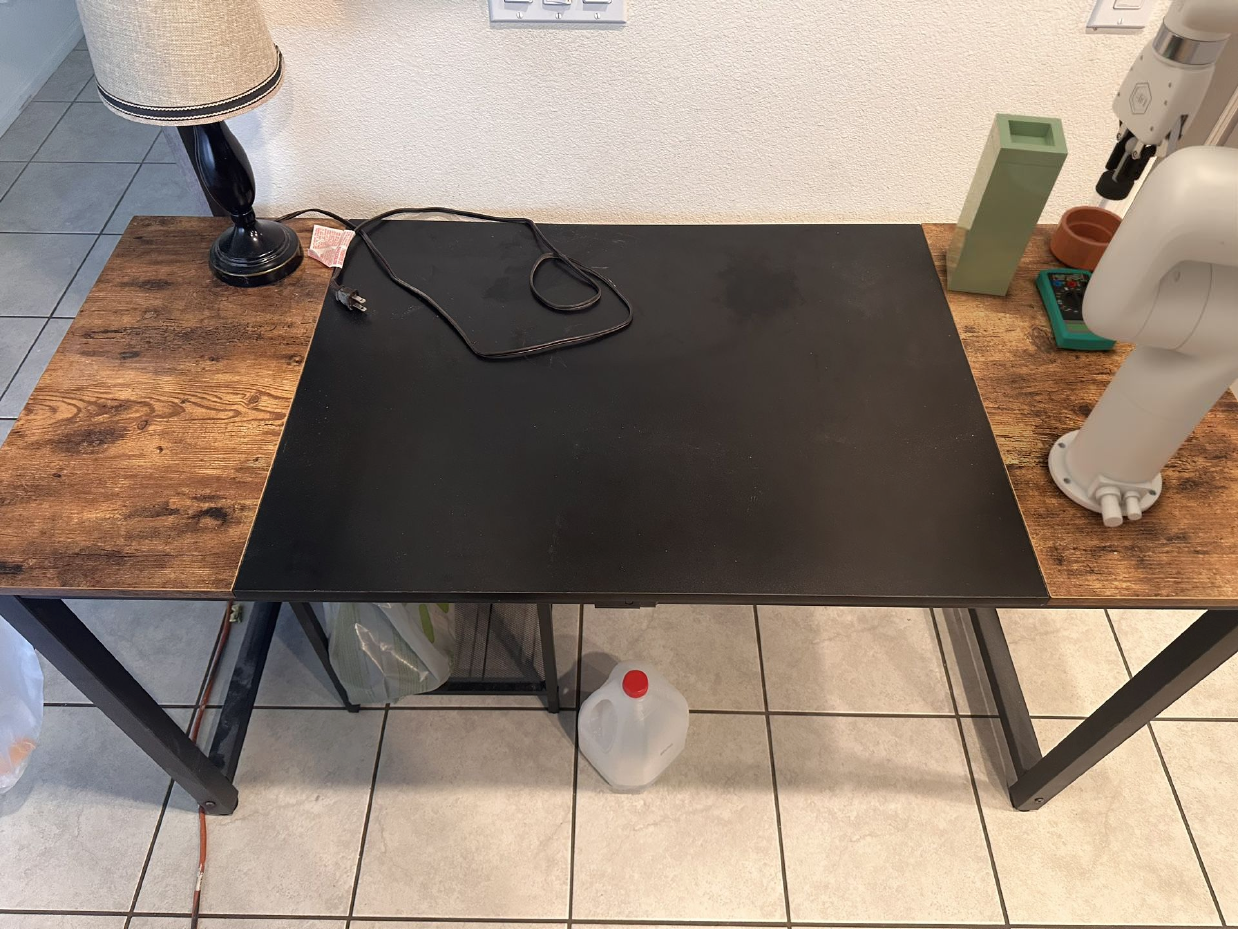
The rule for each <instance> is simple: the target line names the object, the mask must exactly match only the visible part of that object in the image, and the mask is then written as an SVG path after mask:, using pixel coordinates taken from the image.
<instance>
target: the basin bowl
mask: <svg viewBox="0 0 1238 929" xmlns="http://www.w3.org/2000/svg"><path fill="white" fill-rule="evenodd" d="M1123 219H1124V218H1122V217H1121V216H1119V215H1118V214H1116V213H1114V212H1112V211H1111V210H1109V209H1105V208H1102V207H1098V206H1092V205H1081V206H1074V207H1072V208H1070V209H1066V211H1065V212H1064V213H1063V214H1062V215H1061V216H1060V219H1059V221H1058V223H1057V225H1056V227H1055V230H1054V232H1053V234H1052V235H1051V239H1050V243H1049V248H1050V250H1051V252H1052V254H1053V255H1054V256H1055V257H1056V258H1057V259H1058V260H1059V261H1060V262H1061V263H1063V265H1066V266H1067V267H1071V268H1072V269H1078V270H1085V271H1089V272H1091V271H1093V272H1094V270H1095V269H1096V267H1097V265H1098V263H1099V261H1100V259H1101V258H1102V256H1103V254H1104V252H1105V251H1106V249H1107V247H1108V245H1109V244H1110V242H1111V240H1112V238H1113V237H1114V235H1115V233H1116V231H1117V230H1118V228H1119V226H1120V224H1121V222H1122V221H1123Z"/></svg>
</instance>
